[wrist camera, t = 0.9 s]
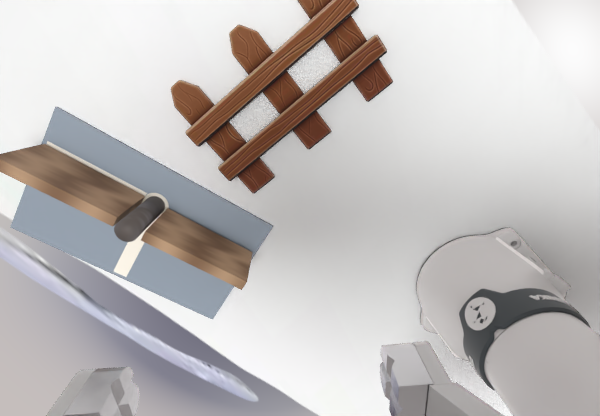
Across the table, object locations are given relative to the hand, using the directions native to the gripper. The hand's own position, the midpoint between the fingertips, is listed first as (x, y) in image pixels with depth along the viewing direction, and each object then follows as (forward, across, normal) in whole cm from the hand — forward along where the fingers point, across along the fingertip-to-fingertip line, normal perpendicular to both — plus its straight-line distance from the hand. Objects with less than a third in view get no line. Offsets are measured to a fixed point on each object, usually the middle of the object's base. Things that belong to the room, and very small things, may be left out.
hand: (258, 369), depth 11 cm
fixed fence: (+31, +21, +1) cm, 37 cm away
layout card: (+31, +18, +7) cm, 36 cm away
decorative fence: (+32, -1, -8) cm, 33 cm away
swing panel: (+30, +10, +9) cm, 33 cm away
